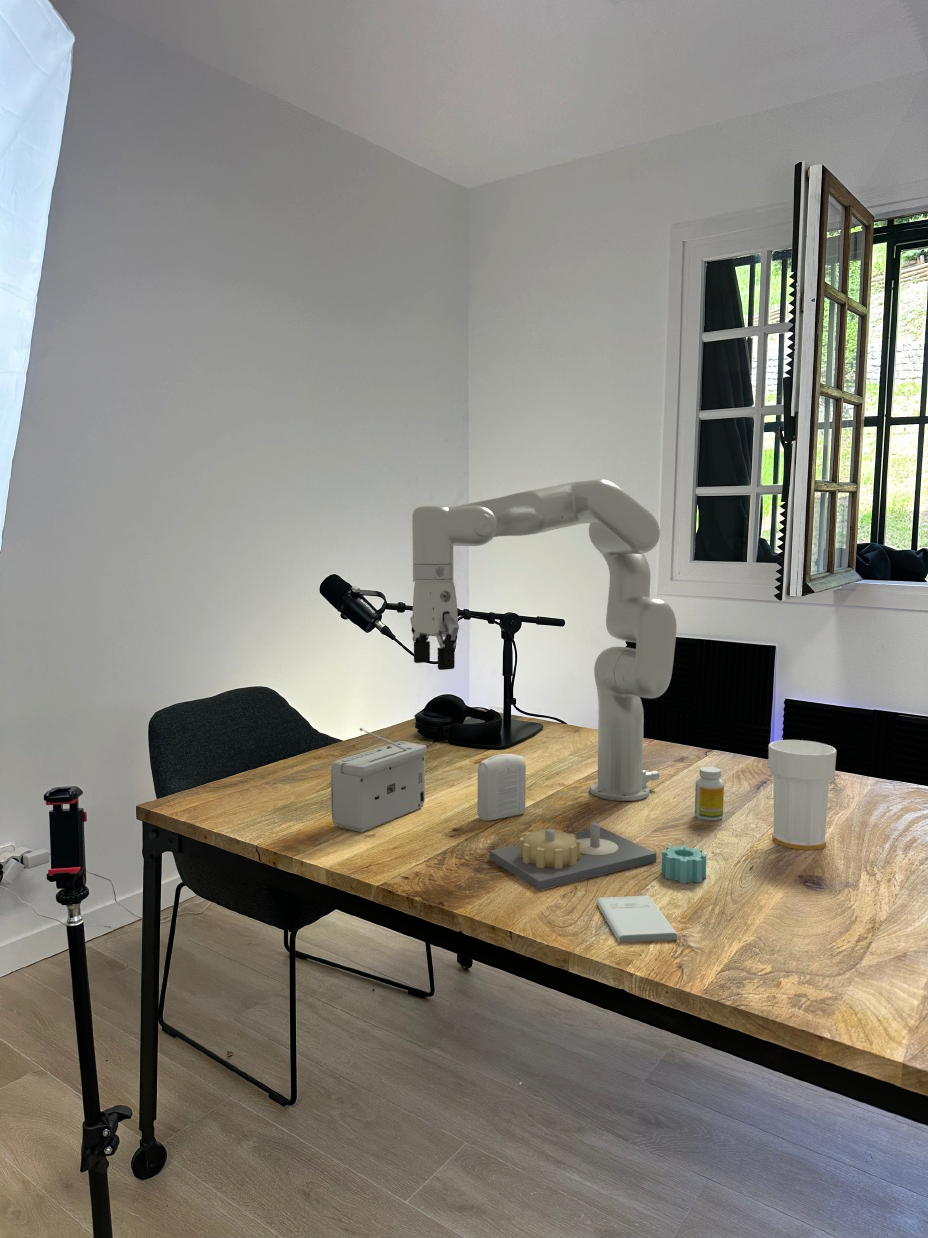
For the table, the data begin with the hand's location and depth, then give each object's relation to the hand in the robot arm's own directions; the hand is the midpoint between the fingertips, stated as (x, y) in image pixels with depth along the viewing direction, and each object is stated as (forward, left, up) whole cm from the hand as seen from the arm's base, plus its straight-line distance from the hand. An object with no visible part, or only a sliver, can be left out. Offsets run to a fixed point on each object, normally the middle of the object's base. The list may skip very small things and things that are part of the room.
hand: (433, 665), depth 158 cm
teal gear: (-25, +40, -31) cm, 56 cm away
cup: (-54, +39, -31) cm, 74 cm away
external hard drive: (-7, +49, -32) cm, 59 cm away
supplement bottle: (-50, +21, -31) cm, 63 cm away
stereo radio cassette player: (+6, -11, -32) cm, 34 cm away
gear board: (-13, +26, -31) cm, 43 cm away
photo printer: (-15, 0, -31) cm, 35 cm away
